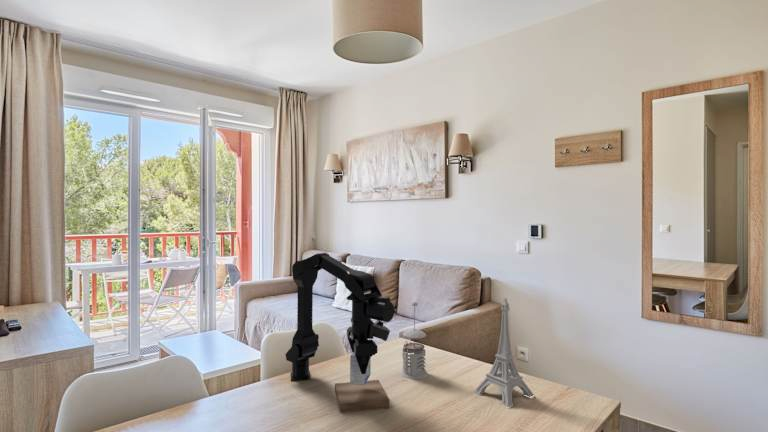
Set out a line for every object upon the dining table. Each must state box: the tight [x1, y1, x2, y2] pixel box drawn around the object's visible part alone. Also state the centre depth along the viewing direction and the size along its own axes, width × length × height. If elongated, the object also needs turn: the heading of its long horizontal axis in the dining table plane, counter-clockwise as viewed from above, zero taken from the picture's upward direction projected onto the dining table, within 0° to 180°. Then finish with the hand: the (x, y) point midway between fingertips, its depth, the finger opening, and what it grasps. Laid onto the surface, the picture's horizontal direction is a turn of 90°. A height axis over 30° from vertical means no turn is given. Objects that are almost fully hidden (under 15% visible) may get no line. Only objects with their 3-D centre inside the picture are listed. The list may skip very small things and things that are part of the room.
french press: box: [399, 301, 429, 380], centre depth 143 cm, size 10×12×25 cm
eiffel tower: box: [472, 297, 535, 407], centre depth 128 cm, size 13×13×30 cm
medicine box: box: [349, 352, 372, 385], centre depth 123 cm, size 8×4×9 cm, turn 169°
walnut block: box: [334, 379, 390, 414], centre depth 123 cm, size 14×14×2 cm
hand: (360, 368), depth 123 cm, fingers closed on medicine box, 9 cm apart
